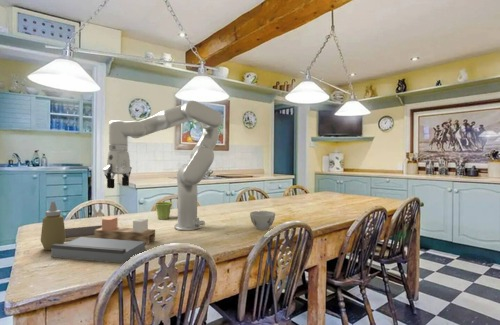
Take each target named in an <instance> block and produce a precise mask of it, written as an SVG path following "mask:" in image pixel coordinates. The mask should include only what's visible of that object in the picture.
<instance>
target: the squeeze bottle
mask: <svg viewBox="0 0 500 325" xmlns="http://www.w3.org/2000/svg"><path fill="white" fill-rule="evenodd" d="M41 225H42V226H41V234H40V243H41V244H42V248H43V249H44V250H45V251H51V245H52V244H64V243H65V242H66V241H65V238H66V234H65V229H66V227H65V219H64V216H63V215H61V210H60V209H58V208H57V204H56V201H51V202H50V206H49V210H47V211H45V216H44V217H43V218H42V224H41Z"/></svg>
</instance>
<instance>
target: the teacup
mask: <svg viewBox="0 0 500 325" xmlns="http://www.w3.org/2000/svg"><path fill="white" fill-rule="evenodd" d="M249 217H250V220H251V223H252V225H253V226H254V228H256V230H258V231H266V230H269V228H271V226H272V225H273V224H274V221H275V218H276V213H275V212H273V211H267V210H260V211H258V210H257V211H256V210H254V211H251V212H250V213H249Z"/></svg>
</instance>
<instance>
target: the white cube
mask: <svg viewBox="0 0 500 325" xmlns="http://www.w3.org/2000/svg"><path fill="white" fill-rule="evenodd" d="M148 222H149V220H148V218H137V219H134V220H133V221H132V228H133V232H141V233H142V232H144V231H146V230H148V229H149V228H148V226H149V225H148V224H149V223H148Z"/></svg>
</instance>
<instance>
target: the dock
mask: <svg viewBox="0 0 500 325" xmlns="http://www.w3.org/2000/svg"><path fill="white" fill-rule="evenodd" d="M145 250H146V245H145V242H143V241H129V240H115V239H101V238H88V237H80V238H77V239H75V240H70V241H66V242H64V244H52V245H51V250H50V254H51V257H52V258H61V259H73V260H82V261H83V260H84V261H85V260H86V261H94V260H95V261H97V262H106V261H108V263H117V262H120V263H119V264H123V263H126V262H127V261H128V259H129V258H130V257H132V256H133V255H135V254H137V255H138V254H140V253H141V252H143V251H145ZM135 256H136V255H135ZM133 257H134V256H133ZM133 257H132V258H133ZM130 259H131V258H130ZM130 259H129V260H130Z"/></svg>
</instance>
